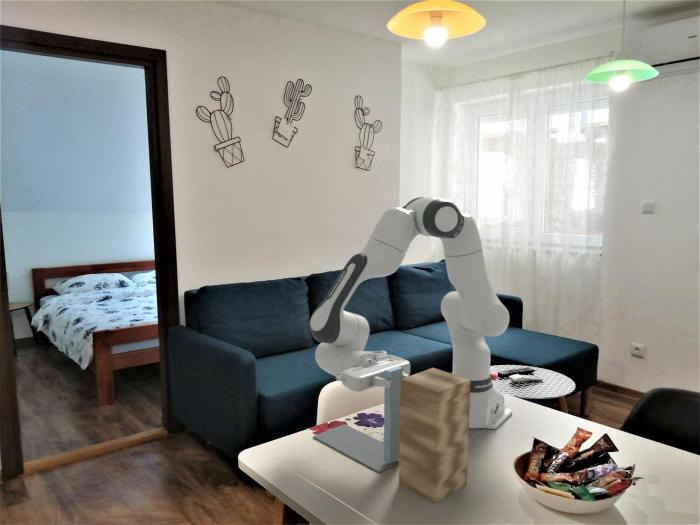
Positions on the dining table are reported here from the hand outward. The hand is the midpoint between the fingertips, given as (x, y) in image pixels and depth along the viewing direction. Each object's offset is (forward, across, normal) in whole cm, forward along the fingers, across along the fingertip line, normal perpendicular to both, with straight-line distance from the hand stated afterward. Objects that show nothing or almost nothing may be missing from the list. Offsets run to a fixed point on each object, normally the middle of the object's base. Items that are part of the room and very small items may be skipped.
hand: (399, 381), depth 134 cm
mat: (-14, 0, +22) cm, 26 cm away
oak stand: (+11, 0, +22) cm, 25 cm away
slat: (-3, 0, +9) cm, 10 cm away
